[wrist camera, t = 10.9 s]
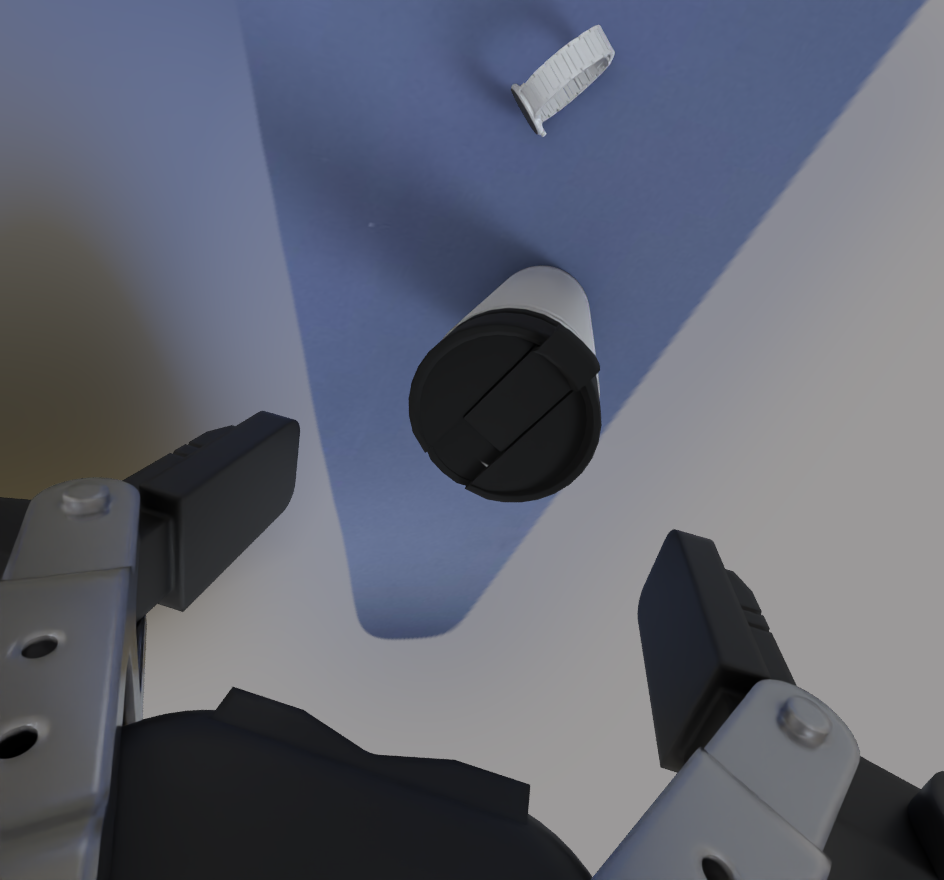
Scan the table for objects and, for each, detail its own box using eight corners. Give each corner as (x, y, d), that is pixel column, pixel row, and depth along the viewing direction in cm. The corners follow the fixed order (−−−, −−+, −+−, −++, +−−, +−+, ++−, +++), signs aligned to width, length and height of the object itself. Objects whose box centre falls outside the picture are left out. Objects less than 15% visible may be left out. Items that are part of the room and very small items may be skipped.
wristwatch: (514, 99, 30) (502, 78, 25) (591, 32, 28) (594, -4, 24) (541, 146, 30) (535, 133, 26) (619, 83, 29) (627, 58, 24)
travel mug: (615, 310, 33) (659, 423, 15) (540, 381, 36) (501, 551, 18) (544, 238, 32) (501, 265, 14) (472, 317, 35) (360, 424, 17)
